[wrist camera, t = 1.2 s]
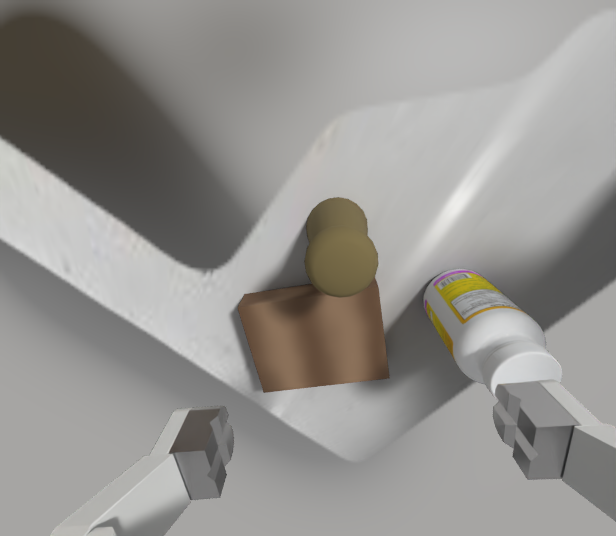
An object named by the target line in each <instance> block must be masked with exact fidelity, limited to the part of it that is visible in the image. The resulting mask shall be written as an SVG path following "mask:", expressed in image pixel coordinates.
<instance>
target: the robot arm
mask: <svg viewBox="0 0 616 536" xmlns="http://www.w3.org/2000/svg"><path fill="white" fill-rule="evenodd" d="M495 396H496V397H497V399H498V400H499V402H498V403H497V404H496V405H495V406H494V407H493V419H494V423H495V427H496V429H497V431H498V434H499V435H500V437H501V439H502V440H503V442H504V443H506V444H508V445H509V446H510V447H512V448H514V451H513V458H514V459H515V461H516V462H517V464H518V465H519V467H520V469H521V470H522V472H523V473H524V475H525V476H526V478H527V479H528V480H535V479H562V481H564V482H565V483H566V484H568V485H569V486H570V487H571V488H573V489H574V490H575V491H577V492H578V493H579V494H580V495H582V496H583V497H585V498H586V499H587V500H588V501H590V502H591V503H593V504H594V505H595V506H596V507H597V508H599V509H600V510H601V511H603V512H604V513H606V514H607V515H608V516H609V517H611V518H612V519H613V520H615V521H616V427H614V426H612V425H610V424H602V423H601V422H600V421H599V420H598V419H597V418H595V417H594V416H593V415H592V414H591V413H590V412H589V411H588V410H587V409H586V408H585V407H584V406H583V405H582V404H581V403H580V402H579V401H578V400H577V399H576V398H575V397H574V396H573V395H572V394H571V393H569V392H568V391H567V390H566V389H565V388H564V387H563V386H562V385H561V384H560V383H559V382H558V381H556V380H554V379H548V380H537V381H528V382H517V383H505V384H498V385H497V387H496V389H495ZM227 418H228V412H227V409H226V407H225V406H210V407H193V408H180V409H176V410H175V411H174V412H173V413H172V415H171V417H170V418H169V420H168V422H167V424H166V426H165V428H164V430H163V431H162V433H161V435H160V437H159V439H158V440H157V443H156V444H155V446H154V448H153V449H152V451H151V453H150V455H146V456H143V457H142V458H141V459H140V460H138V461H137V462H136V463H135V464H133V465H132V466H131V467H130V468H129V469H127V470H126V471H125V472H124V473H123V474H121V475H120V476H119V477H117V478H116V479H115V480H114V481H113V482H111V483H110V484H109V485H108V486H106V487H105V488H104V489H103V490H101V491H100V492H99V493H98V494H96V495H95V496H94V497H93V498H92V499H90V500H89V501H88V502H87V503H85V504H84V505H83V506H82V507H81V508H79V509H78V510H77V511H75V513H73V514H72V515H71V516H69V517H68V518H67V519H66V520H65V521H63V522H62V523H61V524H59V525H58V526H57V527H56V528H55V529H54V531H53V532H52V533H51V535H50V536H164V535H165V534H166V532H167V531H168V530H169V529H170V528H171V526H172V525H173V524H174V522H175V521H176V520H177V519H178V517H179V516H180V515H181V514H182V513H183V511H184V510H185V509H186V508H187V506H188V505H189V504H190V503H191V501H190V500H198V499H210V498H220V496H221V492H222V489H223V485H224V482H225V478H226V475H227V474H226V471H225V467H224V466H225V465H226V464H227V463H228V462H229V461H230V460H231V456H232V453H233V445H234V437H233V430H232V426H231V425H229V424H228V423H227Z"/></svg>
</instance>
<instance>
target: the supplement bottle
mask: <svg viewBox="0 0 616 536" xmlns="http://www.w3.org/2000/svg"><path fill="white" fill-rule="evenodd" d="M423 303H424V308H425V311H426V313H427V315H428V317H429V318H430V320H431V322H432V323H433V325H434V327H435V328H436V330H437V332H438V333H439V335H440V337H441V338H442V340H443V342H444V343H445V345H446V346H447V348H448V350H449V351H450V353H451V355H452V356H453V358H454V360H455V362H456V363H457V365H458V367H459V368H460V369H461V371H462V372H463V373H464V374H465V375H466V376H468V377H469V378H470V379H472V380H474V381H476V382H479V383H482V384H485V385H486V386H487V388H488V389H489V391H490V392H491V393H492V395H493V396H494V397H495V398H496V399H497V397H496V396H495V389H496V387H497V385H498V384H505V383H517V382H528V381H537V380H548V379H554V380H556V381H558V382H559V383H561V380H562V368H561V366H560V364H559V362H558V361H557V360H556V359H555V358H554V357H553V356H552V355H551V354H550V353H549V352H548V351H547V350H546V341H545V336H544V333H543V331H542V329H541V328H540V326H539V325H538V324H537V323H536V322H535V321H534V320H533V319H532V318H531V317H530V316H529V315H528V314H526V313H525V312H524V311H523V310H521V309H520V308H519V307H518V306H517V305H515V304H514V303H513V302H512V301H511V300H510V299H508V298H507V297H506V296H505V295H504V294H503V293H501V292H500V291H499V290H498V289H497V288H496V287H494V286H493V285H492V284H491V283H490V282H488V281H487V280H486V279H485V278H484V277H482V276H481V275H479V274H478V273H476V272H474V271H471V270H467V269H453V270H449V271H446V272H444V273H442V274H440V275H438V276H437V277H436V278H434V279H433V280H432V281H431V283H430V284H429V285H428V287H427V289H426V291H425V294H424V299H423ZM497 400H498V399H497ZM498 401H499V400H498Z"/></svg>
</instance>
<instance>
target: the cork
mask: <svg viewBox="0 0 616 536" xmlns="http://www.w3.org/2000/svg"><path fill="white" fill-rule="evenodd" d="M306 230H307V237H308V240H309V246H308V247H307V251H306V256H305V261H304V262H305V269H306V273H307V275H308V277H309V279H310V281H311V283H312V284H313V285H314V286H315V287H316V288H317V289H318V290H319V291H321V292H323V293H325V294H326V295H328V296H333V297H339V298H341V297H350V296H353V295H355V294H358V293H360V292H362V291H363V290H364V289H365V288H367V287H368V286H369V285H370V283H371V282H372V280H373V279H374V277H375V274H376V271H377V267H378V253H377V251H376V249H375V246H374V244H373V242H372V240H371V239H370V238H369V237H368V236H367V232H368V228H367V219H366V217H365V214H364V212H363V210H362V209H361V208H360V207H359V206H358V205H357V204H356V203H354V202H352V201H350V200H349V199H344V198H339V197H338V198H330V199H327V200H325V201H323V202H321V203H319V204H318V205H317V206H316V207H315V208H314V209H313V210H312V211H311V213H310V215H309V217H308V220H307V226H306Z"/></svg>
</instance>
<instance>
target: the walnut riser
mask: <svg viewBox="0 0 616 536" xmlns="http://www.w3.org/2000/svg"><path fill="white" fill-rule="evenodd" d="M238 311H239V314H240V317H241V321H242V324H243V327H244V330H245V334H246V337H247V340H248V343H249V346H250V350H251V353H252V356H253V359H254V363H255V366H256V369H257V372H258V375H259V379H260V382H261V385H262V388H263V392H264V393H265V392H274V391H282V390H291V389H300V388H309V387H317V386H326V385H335V384H344V383H352V382H361V381H370V380H378V379H387V378H389V370H388V362H387V354H386V345H385V337H384V329H383V321H382V313H381V305H380V297H379V289H378V285H377V282H376V279H375V277H374V279H373V280H372V282H371V283H370V285H369V286H368V287H367V288H365V289H364V290H363V291H362V292H360V293H358V294H355V295H353V296H350V297H341V298H339V297H333V296H328V295H326V294H325V293H323V292H321V291H319V290H318V289H317V288H316V287H315V286H314V285H313V284H308V285H301V286H295V287H288V288H282V289H275V290H269V291H262V292H256V293H249V294H244V296H243V298H242V300H241V302H240V304H239V306H238Z"/></svg>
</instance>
